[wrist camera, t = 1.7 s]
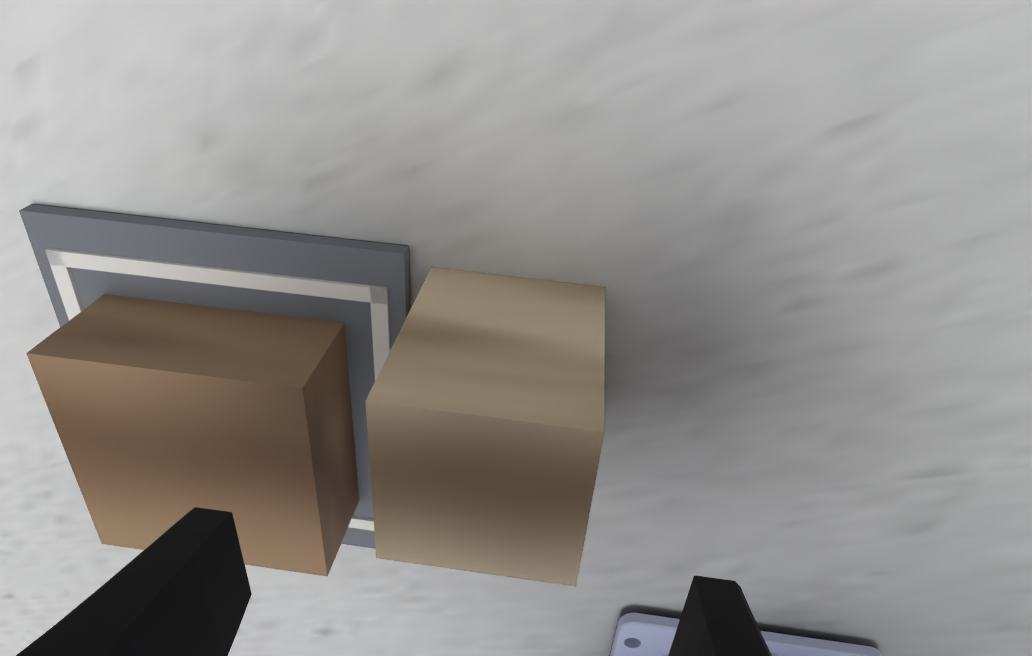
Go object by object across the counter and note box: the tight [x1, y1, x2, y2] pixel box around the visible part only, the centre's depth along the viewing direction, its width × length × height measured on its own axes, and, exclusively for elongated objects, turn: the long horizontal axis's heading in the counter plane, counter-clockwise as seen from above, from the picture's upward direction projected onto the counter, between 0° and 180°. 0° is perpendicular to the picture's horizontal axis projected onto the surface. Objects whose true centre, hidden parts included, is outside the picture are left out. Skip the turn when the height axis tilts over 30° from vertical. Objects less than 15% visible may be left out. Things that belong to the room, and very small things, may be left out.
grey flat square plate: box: [19, 204, 410, 548], centre depth 18 cm, size 10×9×1 cm
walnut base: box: [26, 294, 359, 576], centre depth 17 cm, size 6×6×3 cm
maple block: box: [366, 267, 605, 586], centre depth 14 cm, size 4×4×5 cm
